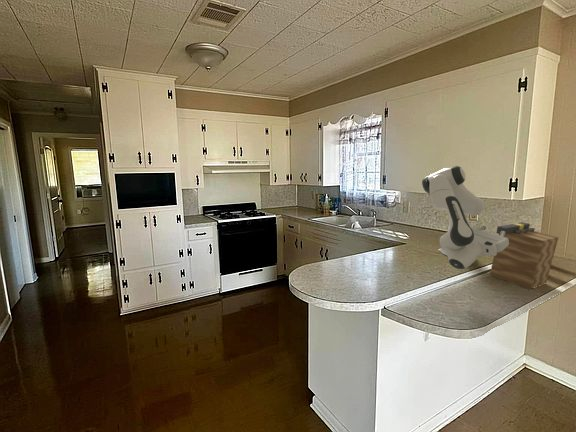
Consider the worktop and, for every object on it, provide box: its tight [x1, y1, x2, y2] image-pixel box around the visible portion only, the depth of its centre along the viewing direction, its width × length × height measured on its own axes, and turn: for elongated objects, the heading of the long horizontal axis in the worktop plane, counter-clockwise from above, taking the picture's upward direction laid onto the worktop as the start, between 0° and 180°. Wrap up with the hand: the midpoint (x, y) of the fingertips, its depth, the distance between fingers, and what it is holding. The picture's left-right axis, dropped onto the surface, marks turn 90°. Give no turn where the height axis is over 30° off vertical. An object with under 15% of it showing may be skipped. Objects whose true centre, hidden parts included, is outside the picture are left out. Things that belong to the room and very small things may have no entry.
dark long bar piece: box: [496, 221, 531, 235], centre depth 169 cm, size 24×4×4 cm, turn 119°
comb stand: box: [489, 227, 559, 290], centre depth 170 cm, size 16×20×28 cm
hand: (493, 229), depth 160 cm, fingers open, 8 cm apart
